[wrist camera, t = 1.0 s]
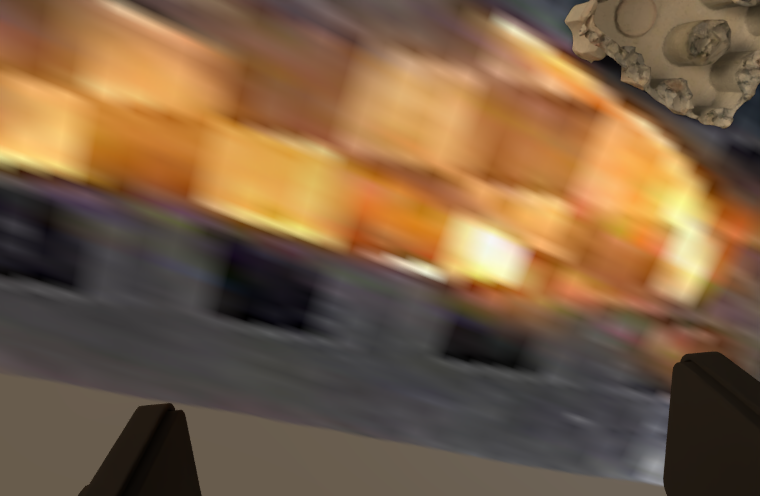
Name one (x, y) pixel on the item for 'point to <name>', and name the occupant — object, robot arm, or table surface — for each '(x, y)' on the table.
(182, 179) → the table surface
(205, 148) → the table surface
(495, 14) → the table surface
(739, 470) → the robot arm
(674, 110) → the tan cratered rock
